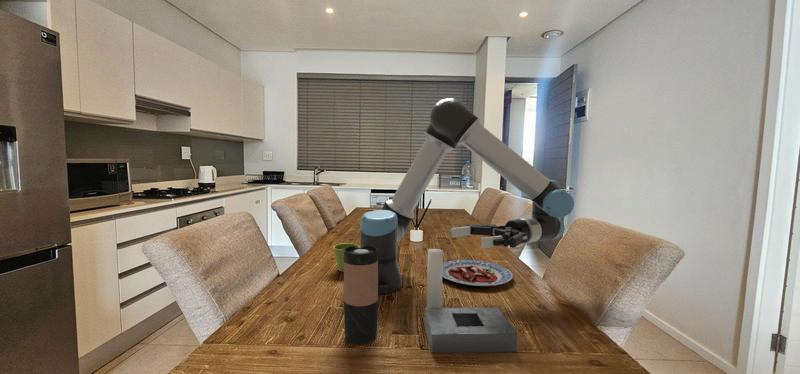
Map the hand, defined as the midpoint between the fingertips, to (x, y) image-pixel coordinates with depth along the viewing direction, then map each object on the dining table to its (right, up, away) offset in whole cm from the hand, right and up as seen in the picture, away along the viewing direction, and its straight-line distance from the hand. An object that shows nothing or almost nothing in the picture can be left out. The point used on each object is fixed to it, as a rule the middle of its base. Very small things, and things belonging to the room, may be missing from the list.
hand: (465, 237), depth 88 cm
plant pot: (-38, -16, +27) cm, 50 cm away
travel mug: (-27, -20, -16) cm, 38 cm away
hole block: (-3, -20, -16) cm, 26 cm away
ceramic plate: (+7, -18, +23) cm, 30 cm away
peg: (-9, -19, -3) cm, 21 cm away
